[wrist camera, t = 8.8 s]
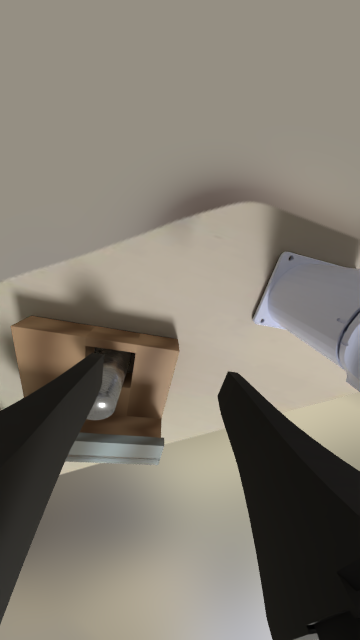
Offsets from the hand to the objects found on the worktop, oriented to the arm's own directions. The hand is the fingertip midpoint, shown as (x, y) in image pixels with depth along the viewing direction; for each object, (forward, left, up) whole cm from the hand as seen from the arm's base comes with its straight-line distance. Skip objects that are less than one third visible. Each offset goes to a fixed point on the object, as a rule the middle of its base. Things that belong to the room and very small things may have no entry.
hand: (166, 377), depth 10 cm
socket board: (+6, +9, -10) cm, 15 cm away
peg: (+5, +7, -10) cm, 13 cm away
